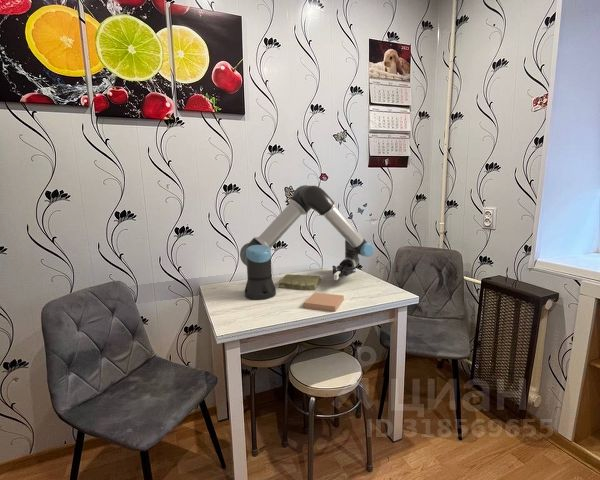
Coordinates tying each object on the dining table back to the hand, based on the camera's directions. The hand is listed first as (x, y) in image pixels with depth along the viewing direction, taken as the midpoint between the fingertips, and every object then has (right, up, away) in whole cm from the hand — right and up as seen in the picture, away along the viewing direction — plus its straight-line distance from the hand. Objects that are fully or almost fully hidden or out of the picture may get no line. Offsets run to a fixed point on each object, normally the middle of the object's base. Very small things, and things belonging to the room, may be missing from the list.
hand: (335, 277), depth 159 cm
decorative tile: (-17, -6, +14) cm, 23 cm away
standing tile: (-4, -8, -9) cm, 12 cm away
